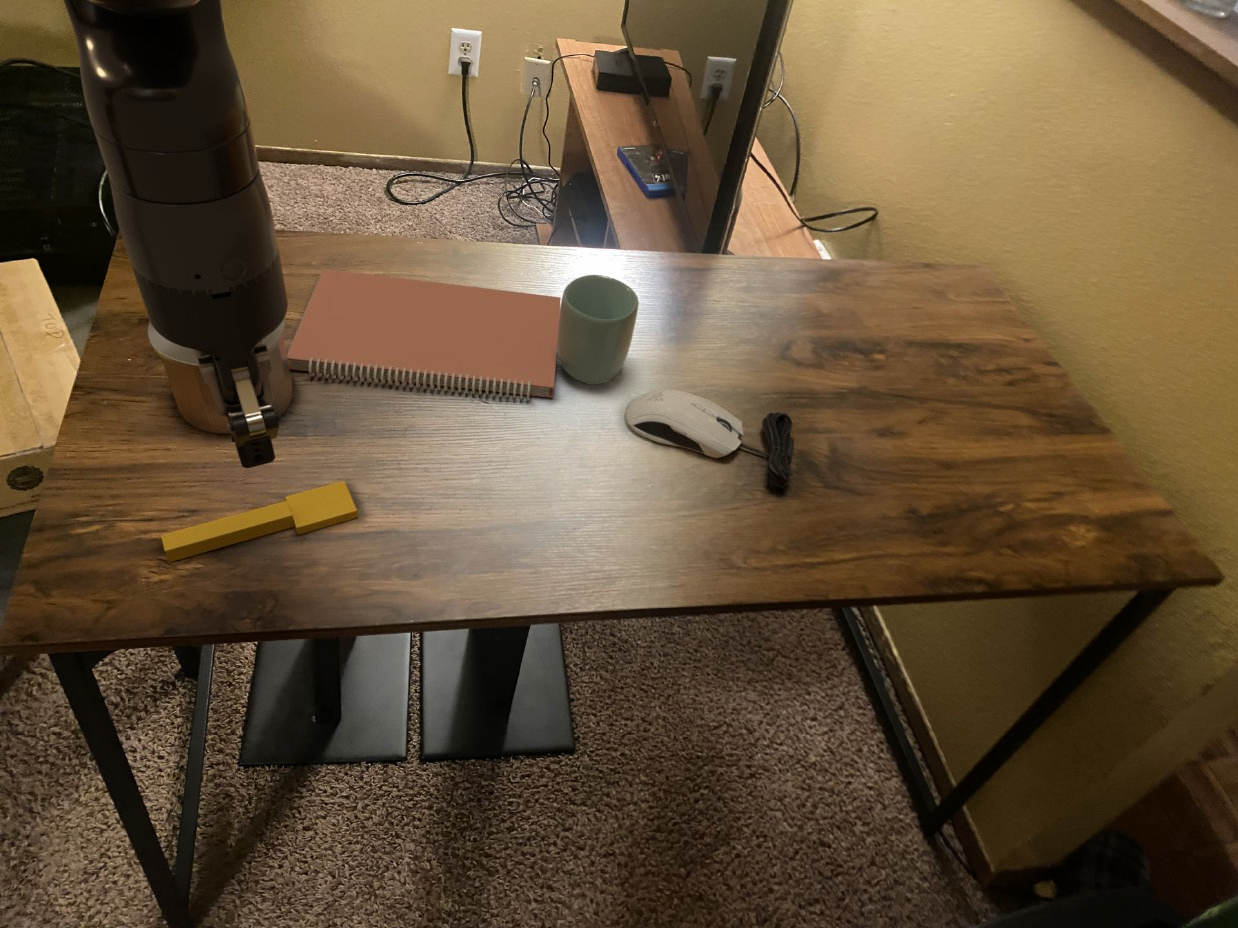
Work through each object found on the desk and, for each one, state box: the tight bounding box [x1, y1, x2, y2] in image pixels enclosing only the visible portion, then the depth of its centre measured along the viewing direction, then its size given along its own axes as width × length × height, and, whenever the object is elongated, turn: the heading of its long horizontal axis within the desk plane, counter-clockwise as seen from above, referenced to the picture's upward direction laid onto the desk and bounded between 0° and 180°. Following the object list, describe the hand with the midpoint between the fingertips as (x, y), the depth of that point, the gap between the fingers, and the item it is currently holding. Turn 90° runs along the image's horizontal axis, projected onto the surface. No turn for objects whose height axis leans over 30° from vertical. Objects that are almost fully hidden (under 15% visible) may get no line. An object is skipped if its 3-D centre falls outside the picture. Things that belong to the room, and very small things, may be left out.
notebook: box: [286, 268, 562, 401], centre depth 91 cm, size 27×17×2 cm, turn 91°
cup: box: [557, 274, 639, 385], centre depth 89 cm, size 8×8×10 cm
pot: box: [160, 336, 293, 435], centre depth 79 cm, size 10×10×8 cm
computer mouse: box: [624, 388, 795, 489], centre depth 86 cm, size 10×18×4 cm, turn 75°
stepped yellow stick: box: [160, 480, 359, 563], centre depth 72 cm, size 15×4×2 cm, turn 119°
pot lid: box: [147, 317, 287, 369], centre depth 75 cm, size 11×11×5 cm
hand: (257, 458), depth 58 cm, fingers closed
